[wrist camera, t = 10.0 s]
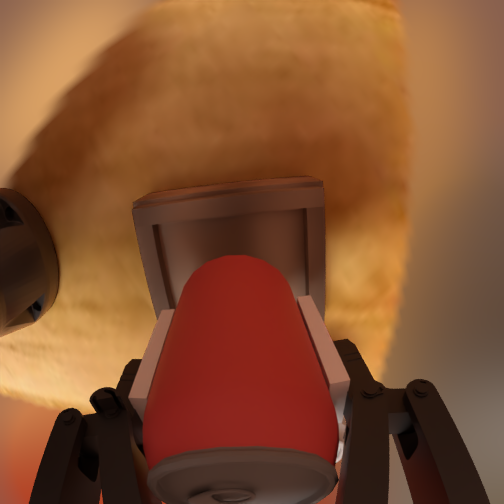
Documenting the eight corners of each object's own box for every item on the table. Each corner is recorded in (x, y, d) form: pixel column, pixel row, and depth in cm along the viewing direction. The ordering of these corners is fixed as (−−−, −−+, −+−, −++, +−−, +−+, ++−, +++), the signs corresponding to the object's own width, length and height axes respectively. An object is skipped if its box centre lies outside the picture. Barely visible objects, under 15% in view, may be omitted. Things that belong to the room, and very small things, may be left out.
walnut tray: (177, 329, 27) (167, 364, 22) (148, 193, 22) (126, 205, 18) (312, 315, 27) (326, 348, 22) (308, 175, 23) (328, 183, 18)
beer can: (161, 282, 17) (82, 462, 5) (261, 229, 16) (316, 410, 5) (217, 359, 19) (211, 529, 7) (308, 319, 18) (372, 491, 7)
